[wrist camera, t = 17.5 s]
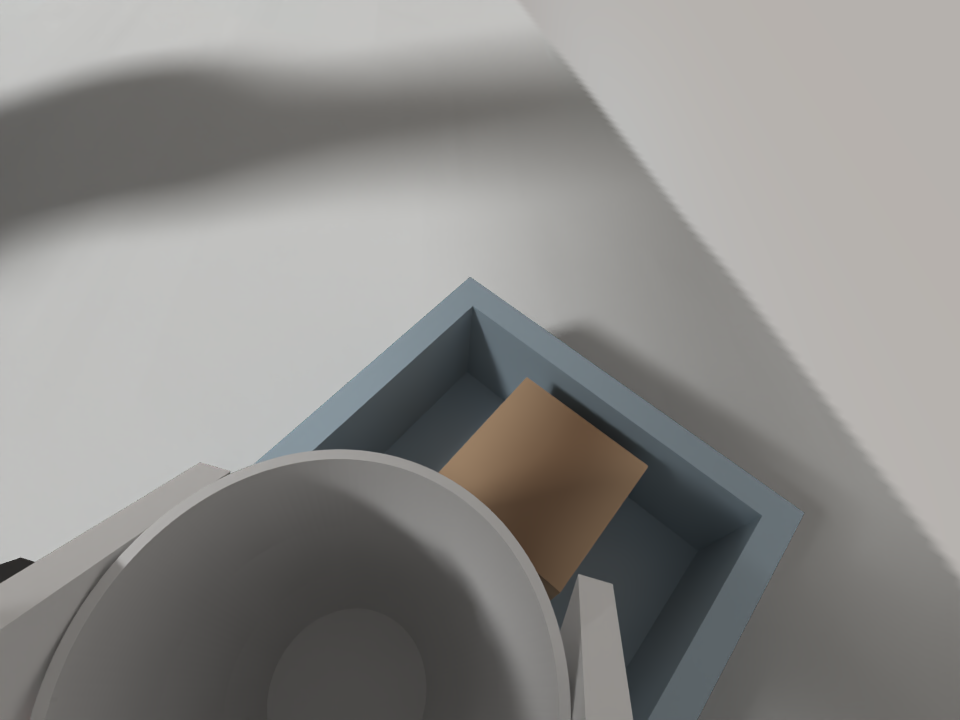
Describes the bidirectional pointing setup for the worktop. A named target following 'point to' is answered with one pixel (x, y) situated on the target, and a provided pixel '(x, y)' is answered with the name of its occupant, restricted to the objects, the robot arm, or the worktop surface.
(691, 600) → the tote
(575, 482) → the walnut cube
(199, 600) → the cup
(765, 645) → the worktop surface
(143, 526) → the robot arm
